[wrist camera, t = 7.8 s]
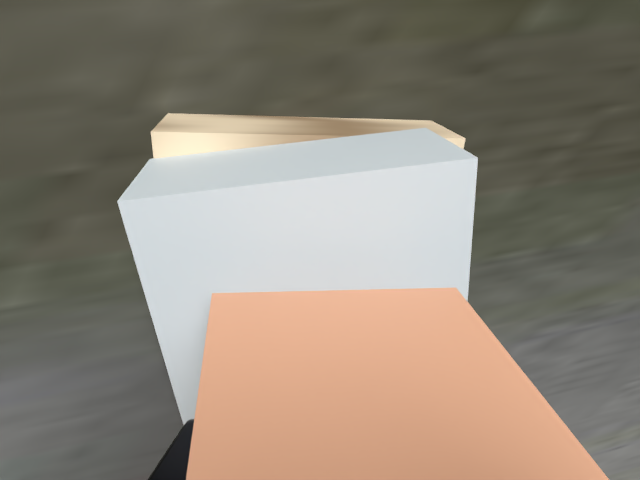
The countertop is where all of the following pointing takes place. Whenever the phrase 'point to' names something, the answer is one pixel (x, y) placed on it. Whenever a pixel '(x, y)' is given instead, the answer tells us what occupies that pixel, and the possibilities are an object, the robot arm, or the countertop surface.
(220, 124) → the oak base slab
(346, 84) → the countertop surface
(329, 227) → the grey-blue top slab
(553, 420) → the terracotta cube
